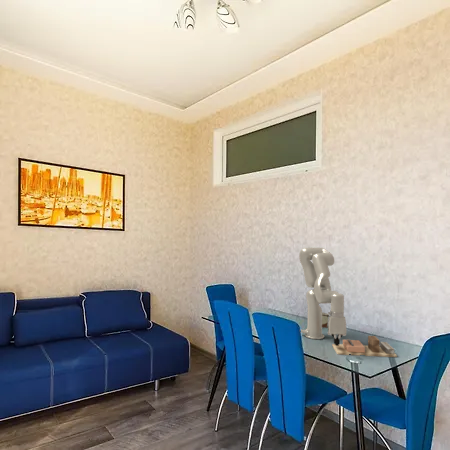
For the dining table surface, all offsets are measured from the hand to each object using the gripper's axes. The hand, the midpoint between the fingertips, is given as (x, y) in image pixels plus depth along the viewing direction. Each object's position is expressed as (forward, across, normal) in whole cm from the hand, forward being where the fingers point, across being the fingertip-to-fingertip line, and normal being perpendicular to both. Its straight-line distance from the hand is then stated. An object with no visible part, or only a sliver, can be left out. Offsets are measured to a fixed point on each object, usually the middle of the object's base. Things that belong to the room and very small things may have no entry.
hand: (336, 344), depth 205 cm
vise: (+3, +15, 0) cm, 16 cm away
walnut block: (+2, +21, 0) cm, 21 cm away
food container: (+3, -1, +48) cm, 48 cm away
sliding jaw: (+2, +10, 0) cm, 10 cm away
